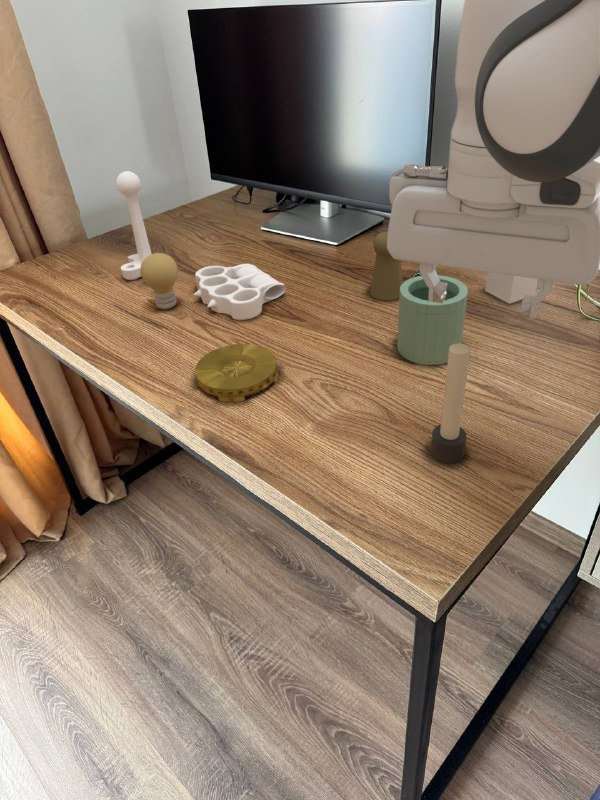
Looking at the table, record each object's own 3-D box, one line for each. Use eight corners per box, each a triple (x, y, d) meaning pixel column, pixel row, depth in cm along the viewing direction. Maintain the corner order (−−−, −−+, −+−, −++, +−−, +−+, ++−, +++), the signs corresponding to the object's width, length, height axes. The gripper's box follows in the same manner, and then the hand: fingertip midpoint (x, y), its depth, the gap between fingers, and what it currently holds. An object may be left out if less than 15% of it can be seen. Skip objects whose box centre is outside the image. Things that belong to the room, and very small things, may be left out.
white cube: (510, 282, 107) (515, 251, 103) (535, 294, 102) (541, 262, 99) (484, 290, 105) (489, 259, 101) (509, 303, 100) (514, 271, 97)
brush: (468, 447, 72) (483, 343, 63) (458, 467, 69) (473, 362, 60) (436, 438, 74) (447, 335, 65) (425, 458, 71) (435, 353, 62)
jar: (468, 339, 92) (475, 281, 86) (449, 370, 86) (456, 310, 80) (410, 327, 96) (413, 270, 90) (387, 356, 90) (390, 297, 84)
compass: (294, 375, 87) (293, 363, 86) (230, 412, 81) (228, 400, 79) (243, 347, 94) (242, 335, 93) (181, 379, 88) (179, 367, 87)
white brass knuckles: (295, 302, 106) (224, 328, 99) (246, 270, 118) (180, 292, 112) (294, 285, 104) (221, 311, 97) (244, 254, 116) (177, 275, 110)
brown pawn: (364, 290, 108) (364, 232, 101) (392, 282, 110) (394, 225, 103) (381, 303, 103) (382, 243, 97) (410, 295, 105) (413, 235, 99)
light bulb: (165, 295, 111) (154, 245, 105) (191, 302, 108) (181, 250, 102) (142, 310, 107) (129, 258, 101) (168, 317, 104) (156, 264, 98)
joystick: (168, 278, 117) (147, 175, 105) (132, 289, 114) (106, 184, 102) (150, 260, 125) (127, 163, 113) (115, 270, 122) (89, 171, 110)
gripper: (377, 172, 55) (376, 304, 63) (617, 189, 46) (580, 340, 55) (401, 155, 60) (398, 280, 68) (624, 167, 51) (589, 310, 59)
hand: (481, 307), depth 61 cm, fingers open, 8 cm apart
